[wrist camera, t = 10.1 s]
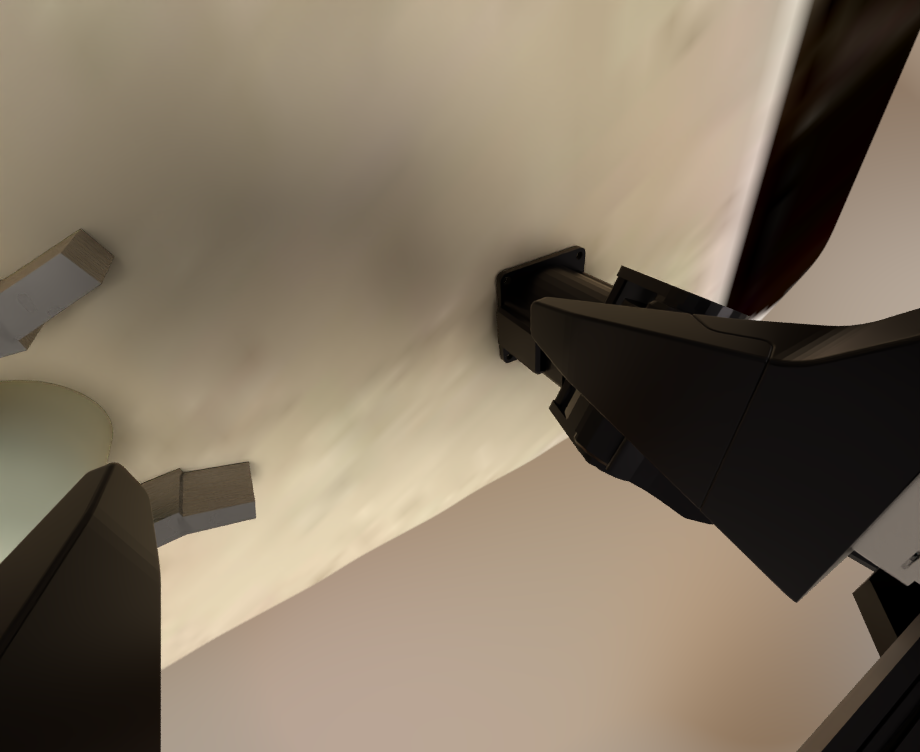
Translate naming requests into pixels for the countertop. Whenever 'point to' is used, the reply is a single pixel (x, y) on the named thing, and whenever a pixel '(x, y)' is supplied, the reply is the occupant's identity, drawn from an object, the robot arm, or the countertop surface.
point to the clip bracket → (55, 288)
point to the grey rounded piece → (44, 451)
